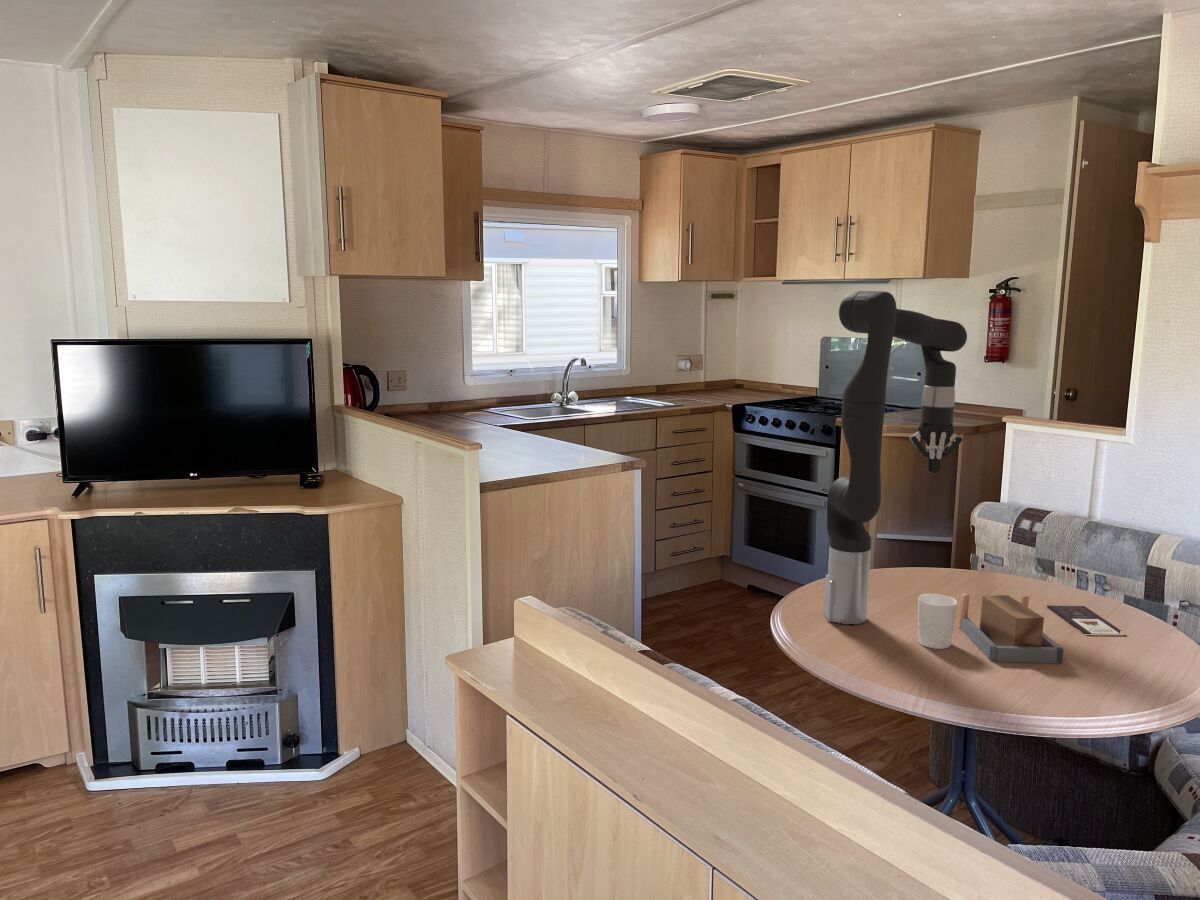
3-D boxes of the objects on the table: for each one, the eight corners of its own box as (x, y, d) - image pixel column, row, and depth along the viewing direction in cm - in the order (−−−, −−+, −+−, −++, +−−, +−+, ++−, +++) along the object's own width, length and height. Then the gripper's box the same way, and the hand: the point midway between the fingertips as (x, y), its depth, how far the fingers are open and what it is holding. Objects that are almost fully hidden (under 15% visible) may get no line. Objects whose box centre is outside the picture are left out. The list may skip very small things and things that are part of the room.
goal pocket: (990, 661, 187) (993, 624, 186) (958, 626, 206) (960, 593, 205) (1063, 663, 187) (1067, 626, 185) (1024, 628, 206) (1027, 595, 204)
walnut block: (1012, 659, 189) (1016, 618, 187) (979, 634, 203) (982, 595, 201) (1039, 658, 190) (1044, 617, 188) (1004, 633, 203) (1008, 595, 202)
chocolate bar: (1084, 606, 220) (1125, 633, 202) (1083, 609, 220) (1125, 637, 202) (1047, 605, 220) (1085, 633, 202) (1046, 609, 220) (1085, 637, 202)
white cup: (947, 637, 200) (951, 594, 199) (957, 651, 193) (961, 606, 191) (911, 635, 201) (914, 592, 199) (919, 649, 193) (923, 604, 192)
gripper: (915, 405, 218) (910, 475, 221) (970, 406, 217) (964, 476, 221) (906, 401, 225) (901, 469, 228) (960, 402, 225) (954, 470, 228)
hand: (932, 473), depth 224 cm, fingers closed
